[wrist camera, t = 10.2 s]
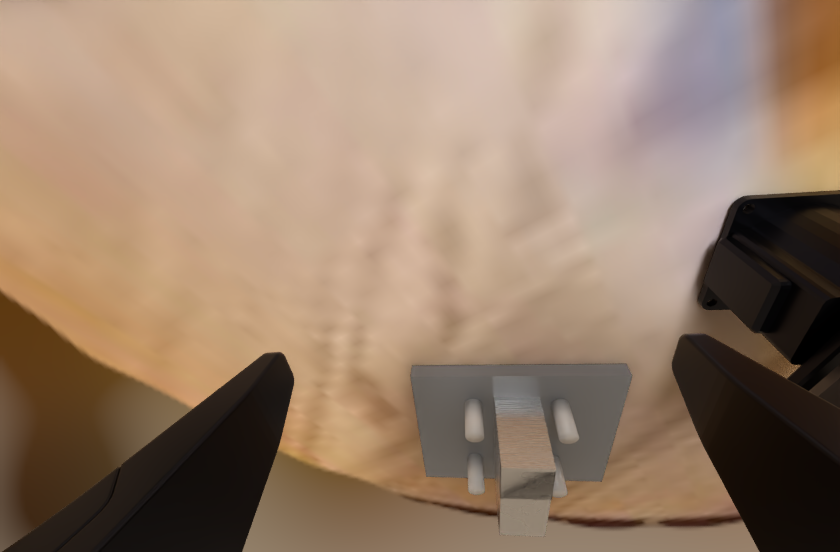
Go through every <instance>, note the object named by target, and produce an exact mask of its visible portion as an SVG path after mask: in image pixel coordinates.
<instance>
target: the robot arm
mask: <svg viewBox="0 0 840 552" xmlns="http://www.w3.org/2000/svg"><path fill="white" fill-rule="evenodd" d="M748 204H749V207H748V208H747V209H745V210H743V208H744V207H745V206H746V205H748ZM711 299H712V300H711ZM709 300H711V301H709ZM708 301H709V302H708ZM698 302H699V304H700V305H701V306H702V307H703V308H704V309H706V310H729V309H730V310H731V311H732V312H733V313H734V314H735V315H736V316H737V317H738V318H739V319H740V320H741V321H742V322H743V323H744V324H745V325H746V326H747V327H748V328H749V329H750V330H751V331H752V332H754V333H761V334H762V335H763V336H764V337H765V338H766V339H767V340H768V341H769V342H770V343H771V344H772V345H773V346H774V347H775V348H776V349H777V350H778V351H779V352H780V353H781V354H782V355H783V356H784V357H785V358H786V359H787V360H788V361H789V362H790V363H791V364H794V365H801V366H800V367H799V368H798V369H797V370H795V371H794V372H793V373H792V374H791V375H790V376H789V377H788V378H787V379H786V378H784V377H782V376H781V375H779V374H777V373H775V372H773V371H772V370H770V369H768V368H766V367H764V366H763V365H761V364H759V363H757V362H755V361H754V360H752V359H750V358H748V357H746V356H744V355H743V354H741V353H739V352H737V351H735V350H734V349H732V348H730V347H728V346H726V345H725V344H723V343H721V342H719V341H717V340H716V339H714V338H712V337H710V336H708V335H706V334H702V333H696V334H684V335H682V336H681V337H680V338H679V341H678V344H677V347H676V351H675V354H674V357H673V360H672V370H673V373H674V376H675V378H676V381H677V383H678V386H679V388H680V391H681V393H682V396H683V398H684V401H685V403H686V406H687V408H688V411H689V413H690V416H691V418H692V421H693V424H694V426H695V429H696V431H697V433H698V435H699V438H700V440H701V442H702V444H703V446H704V448H705V450H706V452H707V454H708V456H709V458H710V459H711V461H712V463H713V465H714V467H715V469H716V471H717V473H718V474H719V476H720V478H721V480H722V482H723V484H724V486H725V488H726V490H727V491H728V493H729V495H730V497H731V499H732V501H733V503H734V505H735V506H736V508H737V510H738V512H739V514H740V516H741V518H742V520H743V521H744V523H745V525H746V527H747V529H748V531H749V532H750V535H751V536H752V538H753V540H754V542H755V544H756V546H757V548H758V550H759V551H760V552H840V190H837V191H820V192H803V193H785V194H768V195H750V196H743V197H741V198H739V199H737V200H736V201H735V202H734V204H733V205H732V208H731V210H730V213H729V216H728V219H727V221H726V224H725V227H724V230H723V232H722V235H721V238H720V240H719V242H718V243H717V246H716V248H715V251H714V254H713V257H712V259H711V262H710V265H709V268H708V270H707V273H706V276H705V279H704V284H703V287H702V290H701V292H700V295H699V298H698ZM293 386H294V376H293V373H292V371H291V369H290V366H289V364H288V362H287V360H286V357H285V355H284V354H283V353H280V352H272V353H265V354H263V355H262V356H261V357H259V358H258V359H257V360H255V361H254V362H253V363H252V364H250V365H249V366H248V367H246V368H245V369H244V370H243V371H241V372H240V373H239V374H237V375H236V376H235V377H234V378H232V379H231V380H230V381H228V382H227V383H226V384H225V385H223V386H222V387H221V388H219V389H218V390H217V391H215V392H214V393H213V394H212V395H210V396H209V397H208V398H206V399H205V400H204V401H203V402H201V403H200V404H199V405H197V406H196V407H195V408H194V409H192V410H191V411H190V412H188V413H187V414H186V415H185V416H183V417H182V418H181V419H179V420H178V421H177V422H176V423H174V424H173V425H172V426H170V427H169V428H168V429H167V430H165V431H164V432H163V433H161V434H160V435H159V436H157V437H156V438H155V439H154V440H152V441H151V442H150V443H148V445H146V446H145V447H143V448H142V449H141V450H139V451H138V452H137V453H136V454H134V455H133V456H132V457H130V458H129V459H128V460H126V461H125V462H124V463H123V464H122V465H121V467H117V468H116V469H115V470H114V471H112V472H111V473H110V474H108V475H107V476H106V477H104V478H103V479H102V480H101V481H99V482H98V483H97V484H95V485H94V486H93V487H92V488H90V489H89V490H87V491H86V492H85V493H83V494H82V495H81V496H79V497H78V498H77V499H75V500H74V501H73V502H72V503H70V504H69V505H67V506H66V507H65V508H64V509H62V510H60V511H59V512H58V513H56V514H55V515H54V516H52V517H51V518H49V519H48V520H47V521H45V522H44V523H42V524H41V525H39V526H38V527H37V528H35V529H34V530H32V531H31V532H30V533H28V534H27V535H25V536H24V537H22V538H21V539H20V540H18V541H17V542H15V543H14V544H13V545H11V546H10V547H8V548H7V549H5V550H4V551H2V552H242V550H243V547H244V545H245V542H246V539H247V536H248V533H249V530H250V528H251V525H252V522H253V519H254V516H255V513H256V510H257V507H258V505H259V502H260V499H261V496H262V493H263V490H264V487H265V484H266V482H267V479H268V476H269V473H270V470H271V467H272V465H273V462H274V459H275V456H276V453H277V450H278V447H279V444H280V440H281V436H282V432H283V428H284V424H285V420H286V416H287V411H288V407H289V403H290V399H291V394H292V390H293Z"/></svg>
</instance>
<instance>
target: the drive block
mask: <svg viewBox="0 0 840 552" xmlns="http://www.w3.org/2000/svg"><path fill="white" fill-rule="evenodd" d="M555 475H556V466H555V462H554V458H553V453H552V449H551V444H550V440H549V435H548V431H547V427H546V422H545V418H544V413H543V409H542V404H541V400H540V397H494V476H495V488H496V500H497V512H498V524H499V535H515V536H516V535H517V536H538V537H545V533H546V527H547V521H548V515H549V509H550V503H551V499H552V493H553V487H554V481H555Z"/></svg>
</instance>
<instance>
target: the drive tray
mask: <svg viewBox="0 0 840 552" xmlns="http://www.w3.org/2000/svg"><path fill="white" fill-rule="evenodd" d="M631 379H632V374H631V372H630V370H629V368H628V366H627V364H549V365H429V366H412V370H411V383H412V389H413V395H414V402H415V408H416V414H417V421H418V427H419V433H420V440H421V446H422V452H423V459H424V465H425V471H426V477H456V478H468V491H469V493H471V494H473V495H481V494H483V493H484V492H485V486H484V478H492V479H495V476H494V397H540V400H541V404H542V409H543V413H544V418H545V422H546V427H547V431H548V435H549V440H550V444H551V449H552V453H553V458H554V462H555V466H556V475H555V481H554V487H553V493H552V496H553V497H556V498H561V497H564V496H566V495H567V494H568V492H567V488H566V484H565V481H600V482H602V479H603V476H604V472H605V469H606V465H607V462H608V459H609V455H610V452H611V448H612V445H613V441H614V438H615V434H616V431H617V427H618V424H619V421H620V417H621V414H622V410H623V407H624V403H625V400H626V396H627V393H628V389H629V386H630V383H631Z"/></svg>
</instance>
